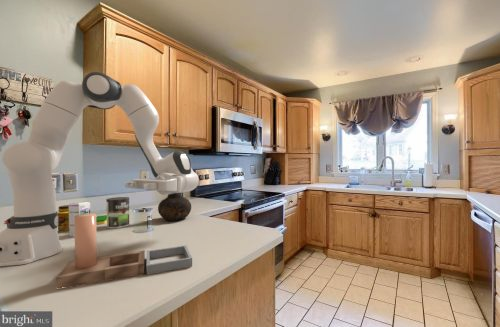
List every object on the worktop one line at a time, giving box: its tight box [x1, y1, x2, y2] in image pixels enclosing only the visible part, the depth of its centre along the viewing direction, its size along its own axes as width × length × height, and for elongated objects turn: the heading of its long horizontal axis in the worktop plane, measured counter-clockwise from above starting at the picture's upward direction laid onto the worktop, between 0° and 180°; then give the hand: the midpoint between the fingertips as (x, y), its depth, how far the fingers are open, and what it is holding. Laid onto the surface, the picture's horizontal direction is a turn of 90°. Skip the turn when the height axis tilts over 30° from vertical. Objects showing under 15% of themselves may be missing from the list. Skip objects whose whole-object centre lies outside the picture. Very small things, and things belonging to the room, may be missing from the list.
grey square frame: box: [146, 244, 193, 275], centre depth 75 cm, size 13×13×2 cm
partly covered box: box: [55, 250, 146, 289], centre depth 69 cm, size 20×11×3 cm, turn 113°
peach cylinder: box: [74, 212, 98, 269], centre depth 67 cm, size 5×5×14 cm
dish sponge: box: [96, 214, 107, 225], centre depth 133 cm, size 7×14×2 cm, turn 16°
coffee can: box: [105, 196, 130, 229], centre depth 122 cm, size 10×10×14 cm
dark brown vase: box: [157, 193, 192, 222], centre depth 136 cm, size 18×18×28 cm
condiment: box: [57, 204, 70, 234], centre depth 115 cm, size 7×8×12 cm
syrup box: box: [68, 201, 91, 238], centre depth 107 cm, size 6×6×14 cm
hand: (134, 185), depth 85 cm, fingers open, 8 cm apart
